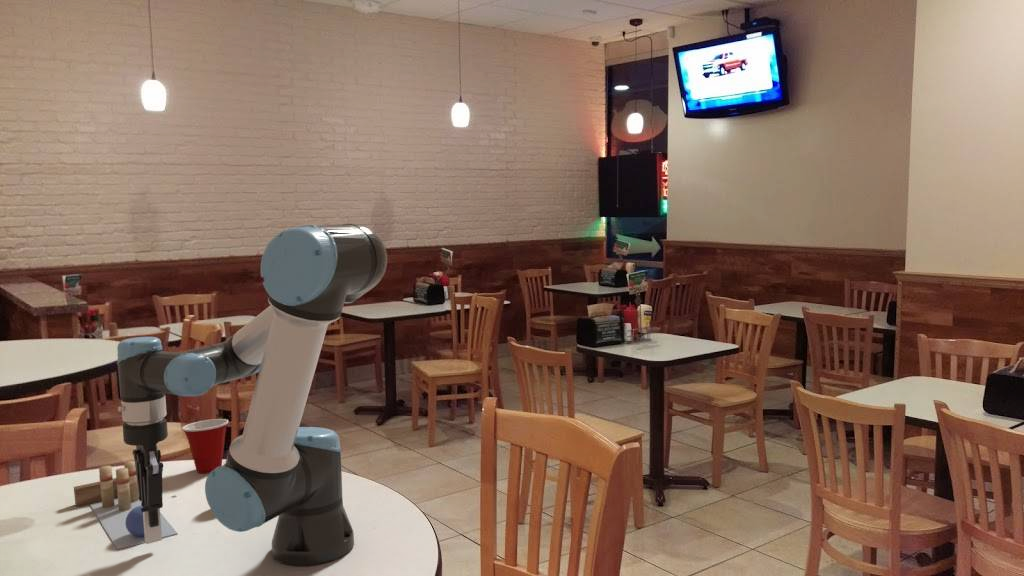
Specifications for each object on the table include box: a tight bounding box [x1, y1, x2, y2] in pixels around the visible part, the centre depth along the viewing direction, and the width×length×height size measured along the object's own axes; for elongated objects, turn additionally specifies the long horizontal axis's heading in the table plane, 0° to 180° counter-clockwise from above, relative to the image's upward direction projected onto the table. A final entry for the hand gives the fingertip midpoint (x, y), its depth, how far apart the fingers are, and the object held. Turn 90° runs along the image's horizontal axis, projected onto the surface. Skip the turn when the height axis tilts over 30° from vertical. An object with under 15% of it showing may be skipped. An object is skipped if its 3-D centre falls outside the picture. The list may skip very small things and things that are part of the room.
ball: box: [126, 505, 145, 537], centre depth 156 cm, size 6×6×6 cm
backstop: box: [73, 477, 118, 507], centre depth 178 cm, size 2×16×4 cm, turn 127°
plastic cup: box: [181, 418, 229, 474], centre depth 194 cm, size 11×11×12 cm
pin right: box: [123, 459, 139, 502], centre depth 174 cm, size 2×2×9 cm
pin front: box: [115, 467, 131, 511], centre depth 169 cm, size 2×2×9 cm
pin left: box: [98, 465, 115, 508], centre depth 171 cm, size 2×2×9 cm
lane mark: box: [89, 498, 178, 551], centre depth 165 cm, size 29×11×1 cm, turn 37°
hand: (153, 540), depth 149 cm, fingers closed
